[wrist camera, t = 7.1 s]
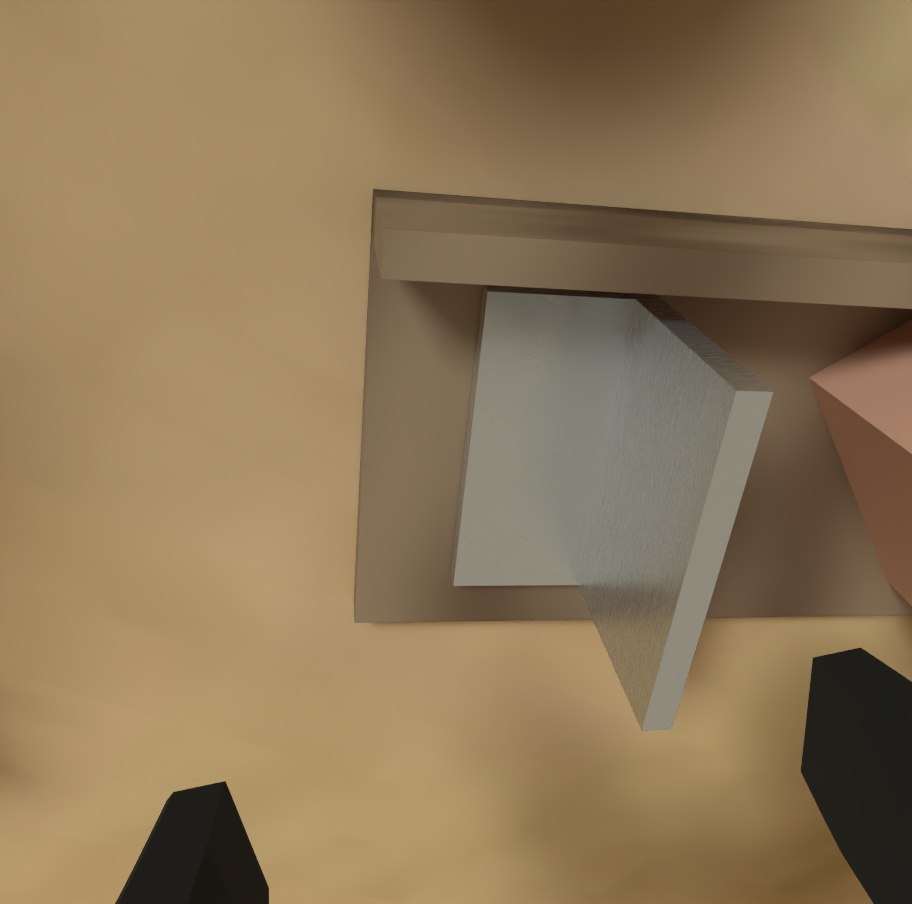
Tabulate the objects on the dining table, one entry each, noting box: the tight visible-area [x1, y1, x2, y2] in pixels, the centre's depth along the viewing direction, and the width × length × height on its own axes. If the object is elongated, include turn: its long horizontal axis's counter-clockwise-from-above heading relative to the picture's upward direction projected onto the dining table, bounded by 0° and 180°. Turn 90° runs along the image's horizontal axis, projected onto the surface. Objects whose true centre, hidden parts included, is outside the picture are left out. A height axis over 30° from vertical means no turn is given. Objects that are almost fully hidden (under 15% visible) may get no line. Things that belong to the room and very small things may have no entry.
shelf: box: [354, 189, 912, 623], centre depth 18 cm, size 24×10×4 cm, turn 85°
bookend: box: [451, 285, 773, 731], centre depth 16 cm, size 4×7×5 cm, turn 175°
